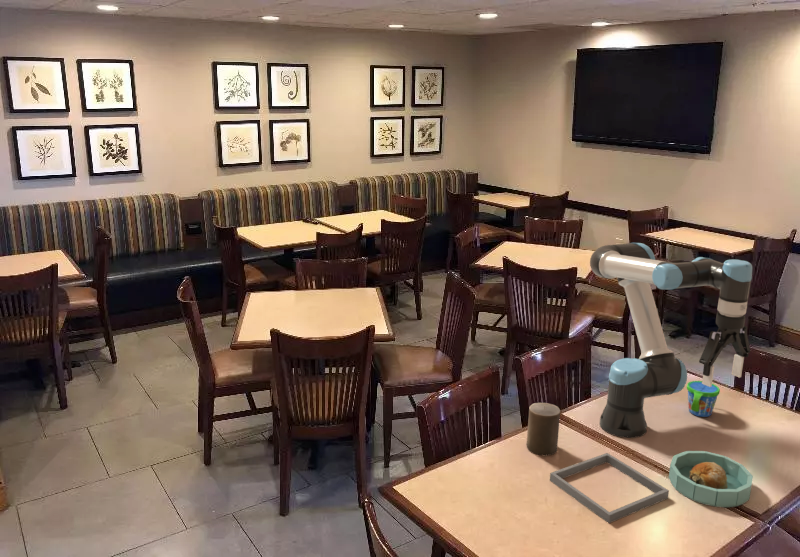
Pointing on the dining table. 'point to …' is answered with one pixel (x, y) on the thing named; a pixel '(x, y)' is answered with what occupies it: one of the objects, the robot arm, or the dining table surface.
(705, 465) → the bread roll
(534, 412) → the pillar candle
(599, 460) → the rectangular frame
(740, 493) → the bowl
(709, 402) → the snack cup
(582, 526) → the dining table surface
